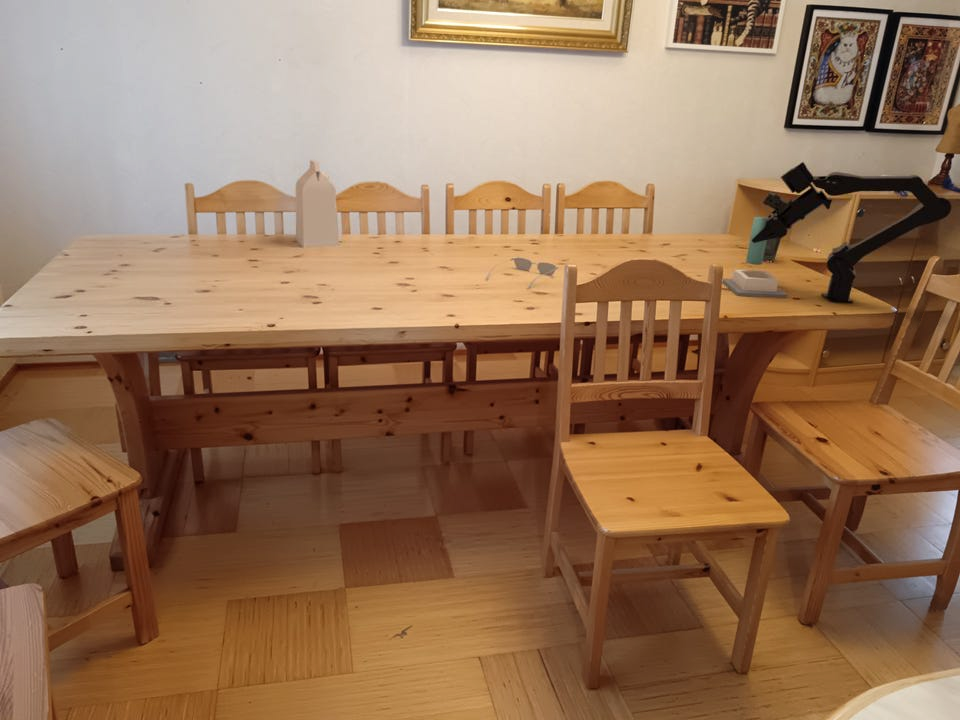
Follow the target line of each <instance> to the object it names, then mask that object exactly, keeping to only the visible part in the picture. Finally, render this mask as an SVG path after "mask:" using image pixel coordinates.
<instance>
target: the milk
mask: <svg viewBox="0 0 960 720" xmlns="http://www.w3.org/2000/svg"><path fill="white" fill-rule="evenodd" d="M329 178H330V177H329V176H328V175H327V173H325V172H324V171H321V172H320V164H319V161H317V160H316V159H310V160H309V168H308V169H307V170H306V171H305V172H304V173H303V174H302V175H301V176H300V177H299V178H298V180H297V181H296V183H295V240H296V241H297V242H298V243H299V244H300V245H301V246H302V248H304V249H305V248H307V249H308V248H320V247H322V248H325V247H336V246H338V247H339V246H340V237H339V222H338V221H339V220H338V209H337V208H338V205H337V193H336V187H335V185H334V184H333V183H332V181H330V180H329Z"/></svg>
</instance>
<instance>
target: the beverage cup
mask: <svg viewBox="0 0 960 720" xmlns="http://www.w3.org/2000/svg"><path fill="white" fill-rule="evenodd" d="M770 215H771V216H773V215H774V214H770ZM766 218H768V216H767V217H766ZM781 240H782V238H781V239H780V238H773V239H769V240H767V241H766V246H765V251H764V256H763V261H762V262H764V261H769V262H768V263H771V262H770V261H774V262H775V258H776V256H777V253H778V249H779V247H780V243H781Z"/></svg>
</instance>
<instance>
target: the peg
mask: <svg viewBox="0 0 960 720" xmlns="http://www.w3.org/2000/svg"><path fill="white" fill-rule="evenodd" d="M767 219H769V218H767V217H764V216H755V217H753V222H752V226H751V227H752V228H751V231H750V232H751V234H750V237H749V242H748V243H749V244H748V247H747V252H746V259H745V263H746V264H748V265H749V264H750V265H753V266H759V265H760V266H761V265H762V264H763V262H764V261H763V256H764V251H765V246H766V241H767V240H764V241H760V242H756V243H753V242H752V239H753V238H754V237H755V236H756V235H757V234H758V233H759V232H760V231H761V230H762V229H763V228H764V227H765V225H766V220H767Z"/></svg>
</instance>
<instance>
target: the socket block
mask: <svg viewBox="0 0 960 720" xmlns="http://www.w3.org/2000/svg"><path fill="white" fill-rule="evenodd" d="M722 279H723V283H722V284H724V285H725V286H726V287H727V288H728V289H729V290H730V291H731V292H732V293H734V294H735V295H736V296H737V297H751V298H752V297H755V298H774V299H776V298H777V299H778V298H779V299H780V298H781V299H787V296H788V294H787V293H786V292H784V291H783V290H782V289H780V288H779V287H778V285H779V279H778V278H777V277H776V276H774V275H772V274H771V273H770V272H768V271H766V270H751V269H750V270H749V269H733V274H732V278H722Z"/></svg>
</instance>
